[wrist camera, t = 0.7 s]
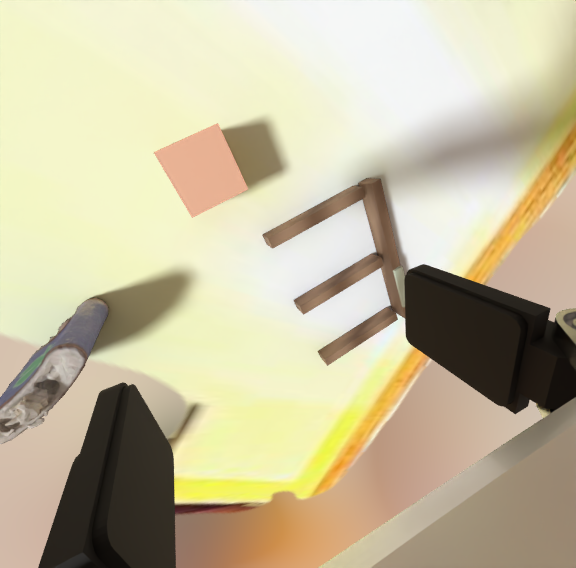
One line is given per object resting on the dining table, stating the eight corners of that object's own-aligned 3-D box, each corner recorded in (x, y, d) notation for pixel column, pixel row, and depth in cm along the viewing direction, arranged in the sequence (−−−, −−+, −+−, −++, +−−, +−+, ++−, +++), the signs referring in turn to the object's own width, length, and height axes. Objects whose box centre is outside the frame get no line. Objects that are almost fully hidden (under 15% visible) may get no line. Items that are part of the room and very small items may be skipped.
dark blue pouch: (91, 291, 27) (50, 356, 17) (120, 309, 28) (96, 377, 19) (22, 362, 27) (-56, 465, 17) (54, 376, 28) (-2, 477, 19)
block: (207, 133, 26) (217, 123, 21) (233, 186, 28) (248, 189, 23) (156, 156, 25) (153, 152, 20) (187, 209, 27) (192, 217, 22)
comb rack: (366, 178, 33) (382, 178, 31) (398, 306, 42) (413, 314, 40) (262, 234, 31) (270, 240, 28) (320, 357, 40) (330, 369, 37)
